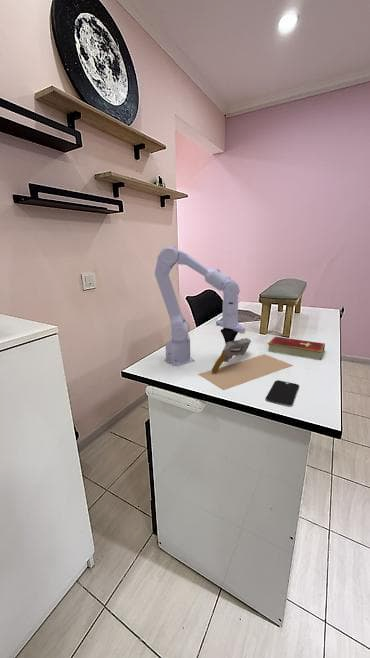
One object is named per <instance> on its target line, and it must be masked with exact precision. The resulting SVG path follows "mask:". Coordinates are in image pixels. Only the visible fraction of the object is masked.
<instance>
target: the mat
mask: <svg viewBox="0 0 370 658" xmlns="http://www.w3.org/2000/svg"><path fill="white" fill-rule="evenodd" d="M293 366H294V365H293V364H291V363H288V362H286V361H283V360H281V359H278V358H275V357H272V356H269V355H267V354H265V353H264V354H261V355H257V356H255V357H251V358H247V359H244V360H241V361H237V362H234V363H231V364H227V365H224V366H220V367H219V369H218V371H217V372H213V371H212V369H211V370H207V371H204V372H200V373H198V374H197V375H198V376H200V377H201V378H204V379H205V380H206V381H208V382H210V383H211V384H213V385H214V386H216V387H218V388H219V389H220V390H223V391H225V390H228V389H231V388H233V387H236V386H240V385H242V384H245V383H247V382H250V381H254V380H256V379H260V378H261V377H265V376H267V375H271V374H273V373H275V372H279V371H281V370H284V369H287V368H290V367H293Z"/></svg>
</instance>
